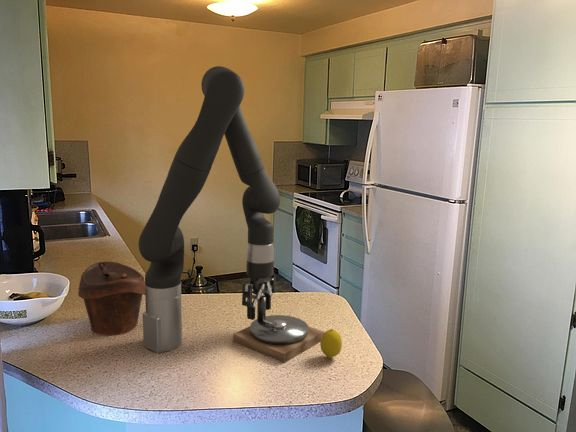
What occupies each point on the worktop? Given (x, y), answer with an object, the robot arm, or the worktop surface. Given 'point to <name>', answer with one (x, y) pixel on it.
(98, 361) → the worktop surface
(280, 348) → the wheel stand
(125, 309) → the chocolate muffin
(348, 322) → the worktop surface
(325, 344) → the lemon
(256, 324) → the handwheel
